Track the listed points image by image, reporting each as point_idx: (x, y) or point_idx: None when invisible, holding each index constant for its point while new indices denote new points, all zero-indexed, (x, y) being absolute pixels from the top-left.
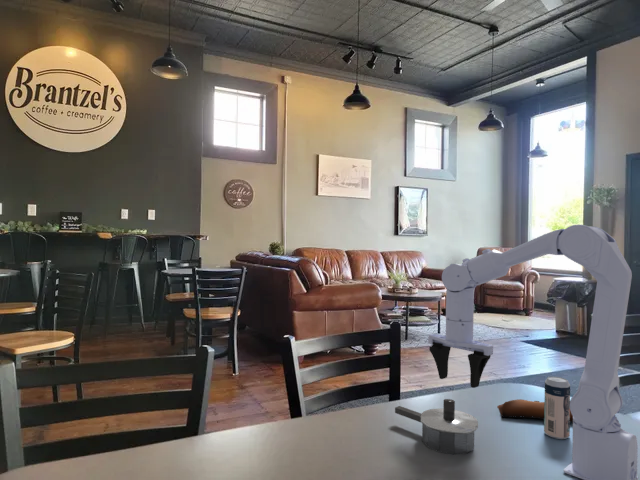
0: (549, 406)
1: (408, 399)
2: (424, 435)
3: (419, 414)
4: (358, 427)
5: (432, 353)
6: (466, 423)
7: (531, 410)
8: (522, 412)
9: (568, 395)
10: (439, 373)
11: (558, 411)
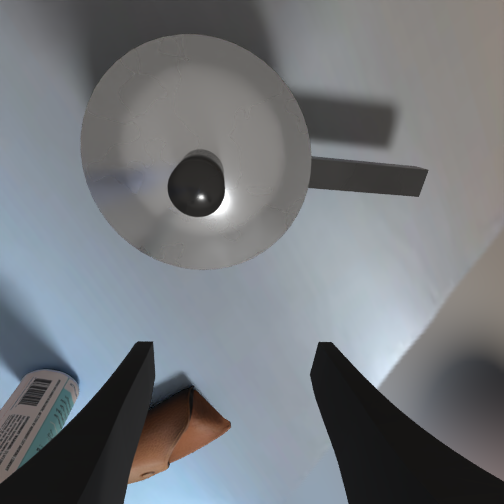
0: (8, 444)
1: (418, 330)
2: None
3: (328, 176)
4: (493, 32)
5: (461, 462)
6: (126, 177)
7: None
8: (149, 419)
9: None
10: (340, 358)
11: None
